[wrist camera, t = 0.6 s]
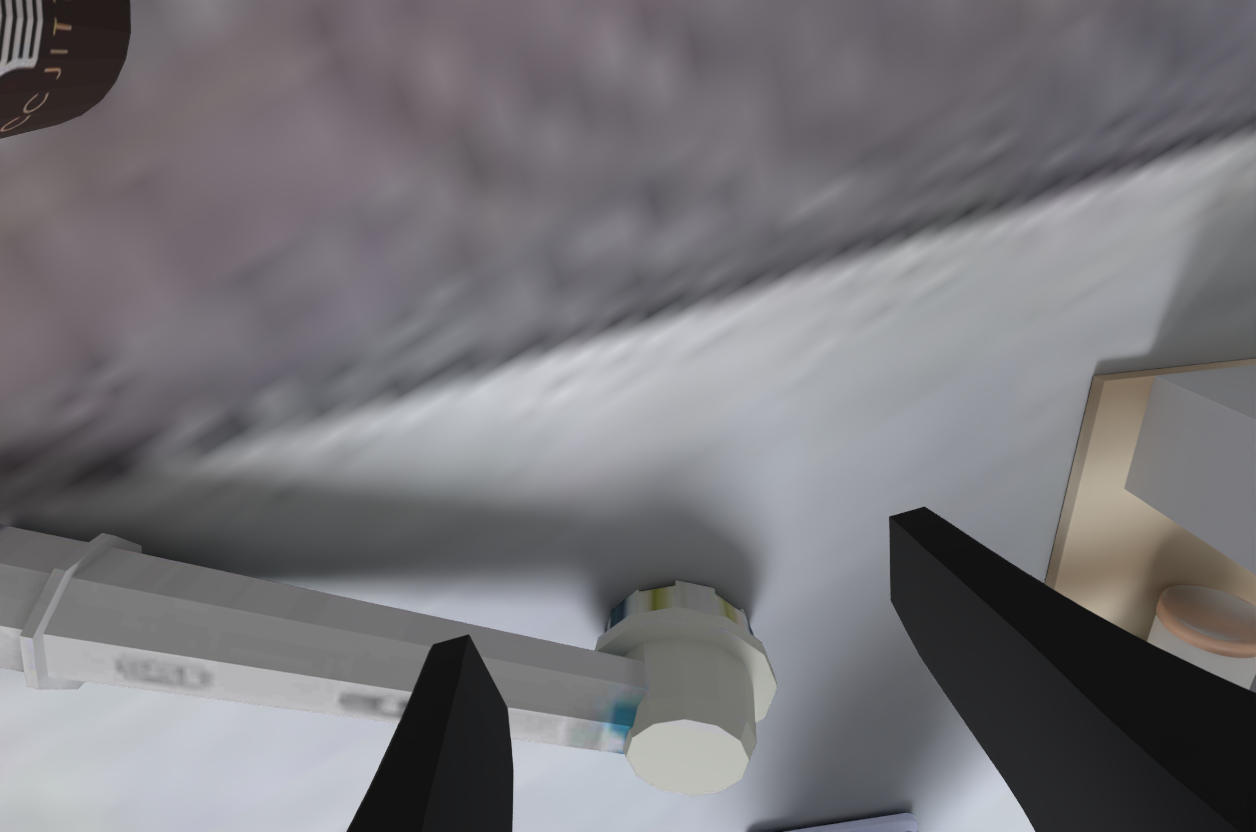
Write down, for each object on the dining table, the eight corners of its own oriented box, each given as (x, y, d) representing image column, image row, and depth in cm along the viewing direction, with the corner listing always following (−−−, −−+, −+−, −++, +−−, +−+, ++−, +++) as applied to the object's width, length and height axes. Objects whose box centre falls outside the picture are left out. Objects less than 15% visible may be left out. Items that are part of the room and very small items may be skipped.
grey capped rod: (-125, 556, 17) (825, 744, 19) (78, 444, 23) (780, 593, 25) (-90, 710, 19) (766, 867, 21) (88, 569, 25) (739, 700, 27)
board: (1212, 718, 32) (1222, 726, 31) (1006, 748, 31) (1013, 758, 30) (1361, 347, 24) (1377, 351, 24) (1093, 375, 23) (1104, 380, 23)
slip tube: (1137, 815, 33) (1262, 963, 27) (1058, 827, 32) (1167, 979, 27) (1225, 577, 27) (1407, 703, 21) (1130, 590, 27) (1288, 721, 21)
